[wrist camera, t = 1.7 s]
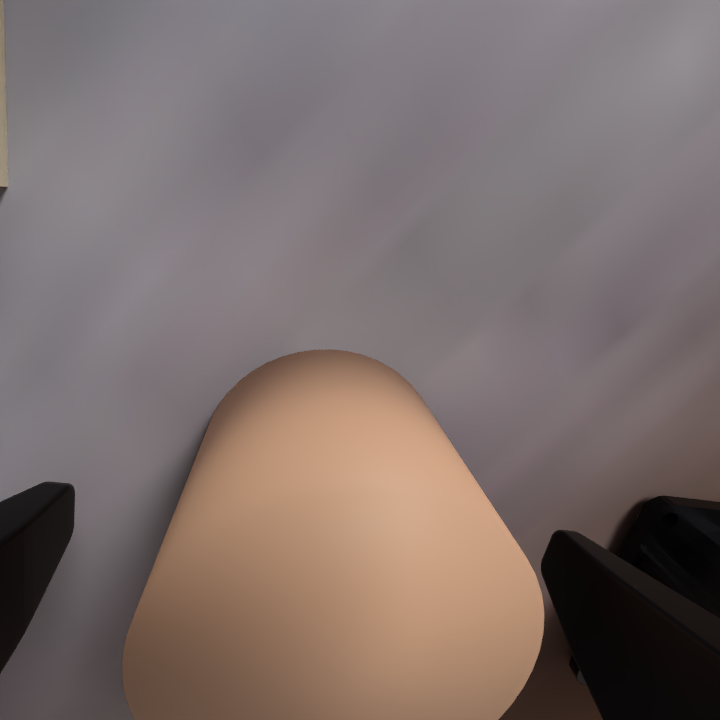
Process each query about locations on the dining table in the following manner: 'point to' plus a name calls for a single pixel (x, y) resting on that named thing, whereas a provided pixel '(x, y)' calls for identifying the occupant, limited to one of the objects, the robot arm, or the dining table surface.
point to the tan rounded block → (331, 564)
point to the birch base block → (3, 105)
